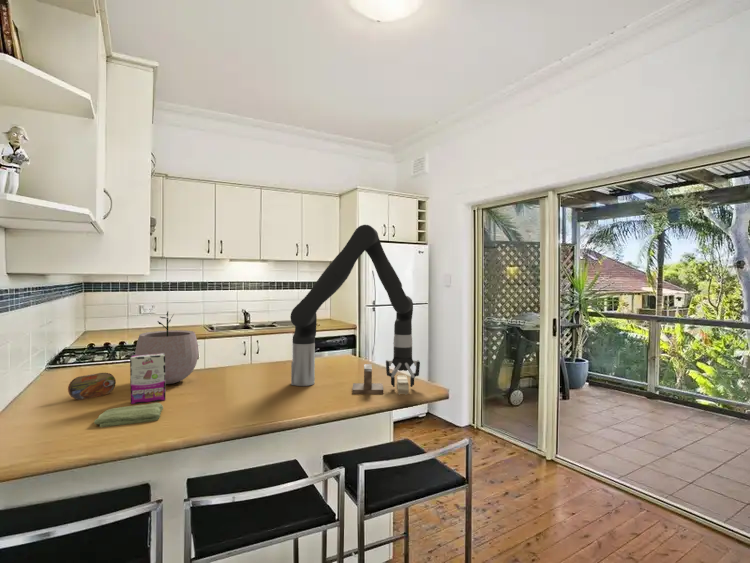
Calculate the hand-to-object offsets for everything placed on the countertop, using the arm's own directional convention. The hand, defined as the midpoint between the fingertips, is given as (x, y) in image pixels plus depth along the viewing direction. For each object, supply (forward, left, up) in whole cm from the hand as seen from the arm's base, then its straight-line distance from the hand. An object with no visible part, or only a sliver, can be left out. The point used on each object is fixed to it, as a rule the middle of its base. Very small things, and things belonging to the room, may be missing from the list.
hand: (402, 386), depth 173 cm
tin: (-116, -12, -1) cm, 117 cm away
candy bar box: (-93, -17, -1) cm, 95 cm away
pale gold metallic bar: (0, 0, -1) cm, 1 cm away
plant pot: (-98, +9, -1) cm, 98 cm away
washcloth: (-89, -36, -2) cm, 96 cm away
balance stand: (-14, -2, -1) cm, 14 cm away
